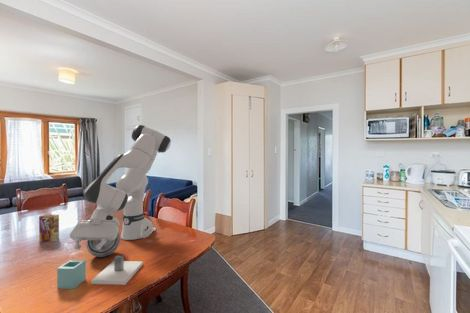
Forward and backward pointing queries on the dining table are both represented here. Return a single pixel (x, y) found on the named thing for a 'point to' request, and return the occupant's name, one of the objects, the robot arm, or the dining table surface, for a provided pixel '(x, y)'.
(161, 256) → the dining table surface
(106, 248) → the decorative orb
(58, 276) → the teal square hollow box
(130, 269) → the board
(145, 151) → the robot arm
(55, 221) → the candy box
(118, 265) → the grey rectangular block
